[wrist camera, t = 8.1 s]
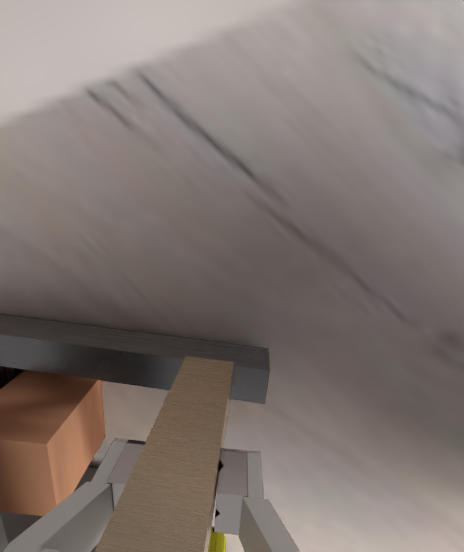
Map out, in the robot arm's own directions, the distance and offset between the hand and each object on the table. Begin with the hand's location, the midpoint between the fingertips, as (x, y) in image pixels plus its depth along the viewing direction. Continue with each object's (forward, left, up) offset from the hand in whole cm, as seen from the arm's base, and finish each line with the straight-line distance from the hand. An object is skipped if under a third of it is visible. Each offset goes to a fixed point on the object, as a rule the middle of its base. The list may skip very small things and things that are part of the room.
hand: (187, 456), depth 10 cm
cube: (+10, +5, -7) cm, 13 cm away
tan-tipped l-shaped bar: (+6, +2, -6) cm, 9 cm away
